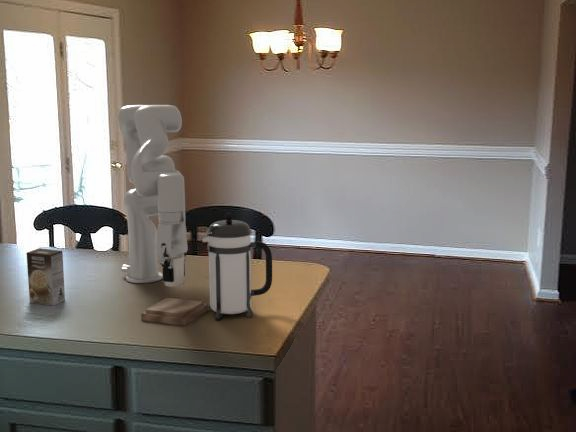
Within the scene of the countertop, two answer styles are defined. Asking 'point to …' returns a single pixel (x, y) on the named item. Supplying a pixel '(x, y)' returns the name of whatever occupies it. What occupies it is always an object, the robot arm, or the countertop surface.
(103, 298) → the countertop surface
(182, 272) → the canister
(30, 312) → the countertop surface
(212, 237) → the coffee press
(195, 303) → the plinth
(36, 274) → the coffee box
